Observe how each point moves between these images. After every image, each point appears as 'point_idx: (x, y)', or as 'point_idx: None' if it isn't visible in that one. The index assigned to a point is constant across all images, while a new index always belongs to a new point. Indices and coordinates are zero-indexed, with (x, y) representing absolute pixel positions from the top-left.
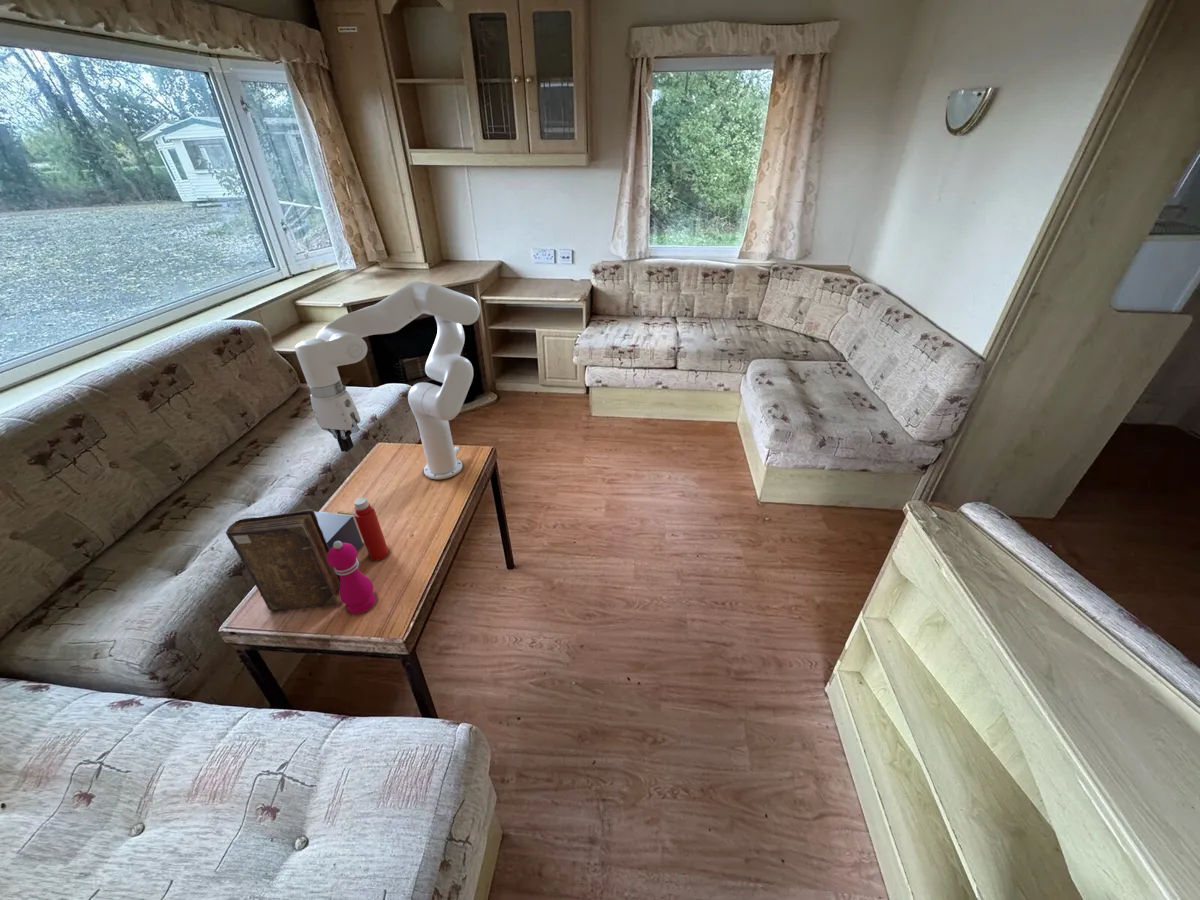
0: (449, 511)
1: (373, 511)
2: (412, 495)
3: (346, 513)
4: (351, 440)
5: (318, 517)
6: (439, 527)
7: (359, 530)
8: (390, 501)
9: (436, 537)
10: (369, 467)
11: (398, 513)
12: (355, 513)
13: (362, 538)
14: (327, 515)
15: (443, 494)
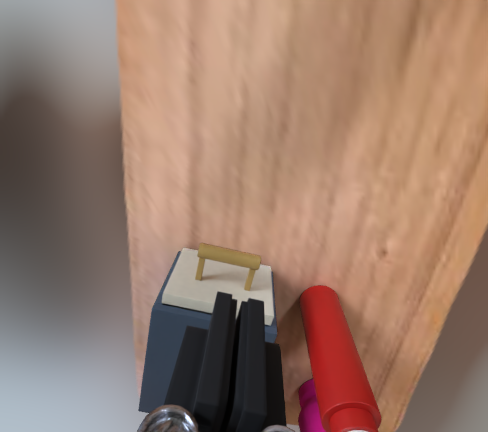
0: (483, 167)
1: (380, 421)
2: (360, 72)
3: (226, 262)
4: (282, 387)
5: (179, 332)
6: (452, 230)
7: (271, 283)
8: (292, 104)
9: (443, 262)
10: None
11: (331, 166)
12: (327, 427)
13: (270, 267)
14: (201, 327)
15: (470, 72)
